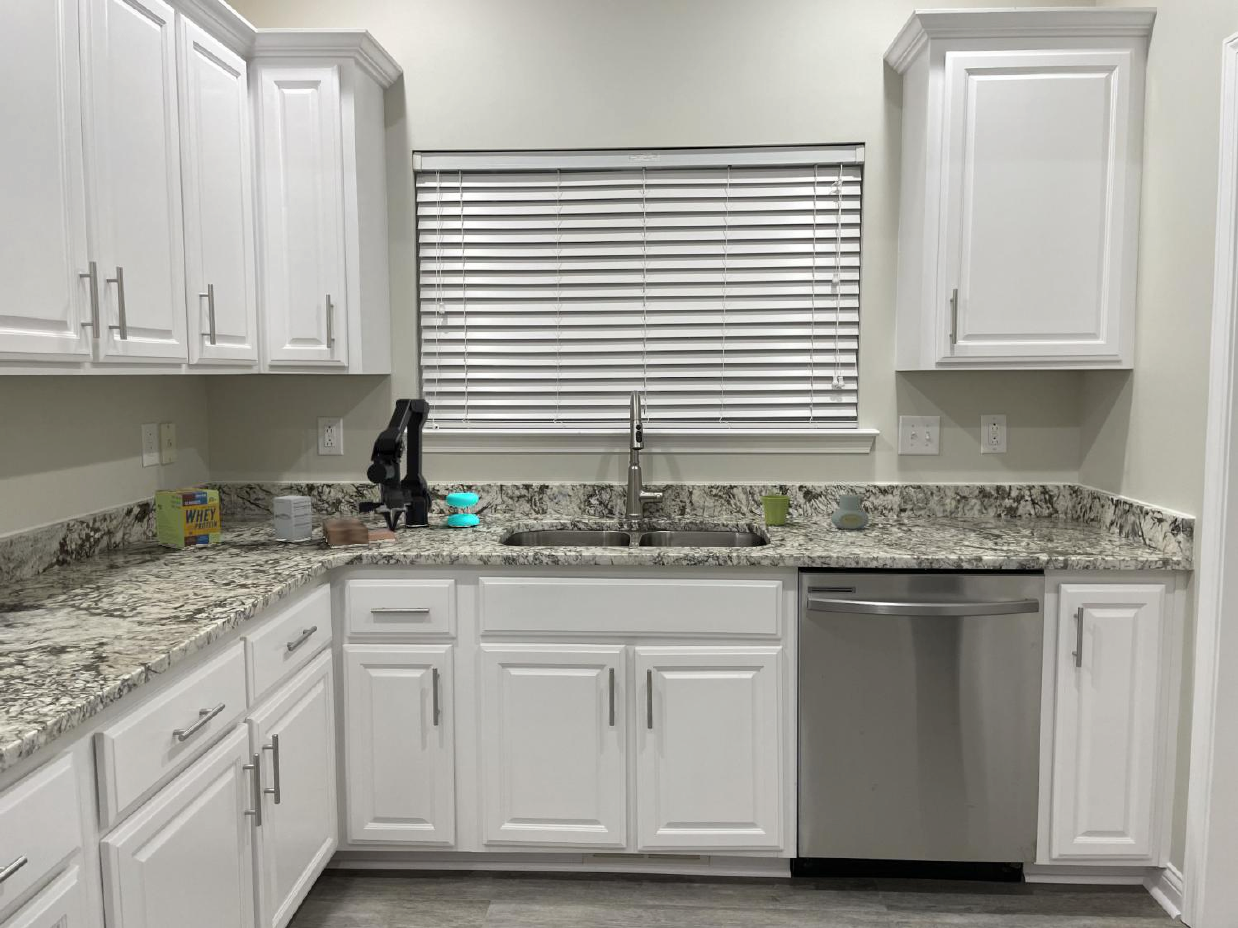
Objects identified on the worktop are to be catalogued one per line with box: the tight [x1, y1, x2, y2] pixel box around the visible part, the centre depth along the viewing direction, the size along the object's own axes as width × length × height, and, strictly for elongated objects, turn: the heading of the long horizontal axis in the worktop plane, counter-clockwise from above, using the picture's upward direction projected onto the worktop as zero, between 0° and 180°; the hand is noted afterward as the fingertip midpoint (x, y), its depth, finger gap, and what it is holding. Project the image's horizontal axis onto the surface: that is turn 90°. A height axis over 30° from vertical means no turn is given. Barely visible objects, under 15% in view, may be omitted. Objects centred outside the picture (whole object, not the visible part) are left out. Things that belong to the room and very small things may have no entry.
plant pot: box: [759, 494, 792, 526], centre depth 277 cm, size 9×9×9 cm
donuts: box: [445, 492, 480, 526], centre depth 279 cm, size 10×10×10 cm
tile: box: [368, 528, 396, 541], centre depth 251 cm, size 15×8×3 cm, turn 122°
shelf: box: [321, 518, 369, 547], centre depth 252 cm, size 10×20×5 cm, turn 24°
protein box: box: [154, 487, 222, 547], centre depth 248 cm, size 10×15×16 cm
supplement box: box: [273, 495, 313, 540], centre depth 254 cm, size 7×7×13 cm
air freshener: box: [830, 493, 870, 531], centre depth 267 cm, size 11×8×10 cm
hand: (392, 534), depth 257 cm, fingers closed
